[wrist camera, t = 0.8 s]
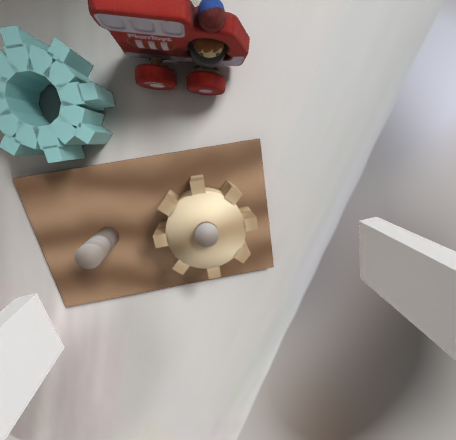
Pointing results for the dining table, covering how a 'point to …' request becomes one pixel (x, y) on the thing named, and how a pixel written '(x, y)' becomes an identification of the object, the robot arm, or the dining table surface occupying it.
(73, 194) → the gear board
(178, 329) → the dining table surface
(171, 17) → the toy fire truck
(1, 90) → the teal gear
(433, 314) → the robot arm
